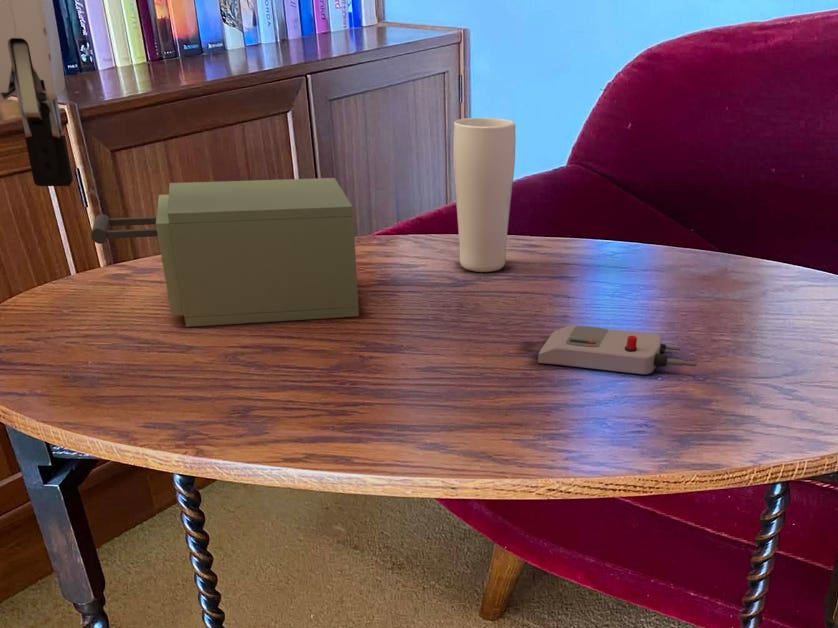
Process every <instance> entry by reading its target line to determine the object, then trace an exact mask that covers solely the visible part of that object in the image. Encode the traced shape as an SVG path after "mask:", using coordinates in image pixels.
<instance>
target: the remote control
mask: <svg viewBox="0 0 838 628" xmlns="http://www.w3.org/2000/svg"><path fill="white" fill-rule="evenodd" d="M674 351H681V347H678V346H669V345H667V344H665V343H662V336H661V335H660V334H659V333H653V332H643V331H642V332H641V331H635V330H634V331H633V330H625V329H616V328H606V327H605V328H604V327H598V326H586V325H576V324H570V325H566V326H564V327H561V328H559V329H556V330H554V331H553V332H552V333H551V334H550V336H549V337H548V338H547V340H546V341H545V343H544V344H543V346H542V347H541V349H540V350H539V352H538V359H537V362H538V364H546V365H547V364H548V365H558V366H567V367H574V368H585V369H593V370H601V371H609V372H619V373H628V374H637V375H649V374H651V373H653V372H654V370H655V369H656V367H661V368H663V367H666V366H667V365H669V366H670V365H671V366H680V367H681V366H689V367H697V364H698V363H697V362H695V361H687V360H683V359H678V358H669V357H668V355H665V354H671V355H672V354H673V352H674Z"/></svg>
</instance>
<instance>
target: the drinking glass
mask: <svg viewBox="0 0 838 628" xmlns="http://www.w3.org/2000/svg"><path fill="white" fill-rule="evenodd" d="M452 137H453V138H452V142H453V143H452V163H453V165H452V166H453V178H454V179H453V180H454V191H455V192H454V194H455V204H456V217H457V218H456V219H457V230H458V231H457V232H458V244H459V248H458V249H459V255H458V256H459V264H460V266H461V267H462V268H463V269H465V270H467V271H471V272H478V273H488V272H489V273H490V272H496V271H500V270H501V269H503V268H504V266H505V265H506V262H507V261H506V259H507V241H508V230H509V221H510V212H511V204H512V203H511V202H512V194H513V185H514V175H515V167H516V166H515V164H516V163H515V162H516V122H514V120H510V119H505V118H499V117H498V118H497V117H465V118H460V119H456V120H455V121H454V122H453V136H452Z"/></svg>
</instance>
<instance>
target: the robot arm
mask: <svg viewBox="0 0 838 628" xmlns="http://www.w3.org/2000/svg"><path fill="white" fill-rule="evenodd" d="M57 24H58V23H57V19H56V13H55V7H54V2H53V0H0V100H2V101H6V100H8V99H10V98H11V97H12V96H14V95H15V94H16V98H17V103H18V108H19V112H20V116H21V122H22V124H23V130H24V134H25V136H24V140H25V145H26V149H27V155H28V160H29V164H30V169H31V175H32V179H33V183H34V184H35V186H38V187H69V186H71V185H72V183H73V181H74V179H73V172H72V166H71V162H70V161H71V160H70V156H69V151H68V145H67V140H66V139H67V138H66V135H65V134H64V133H63V126H62V119H61V113H60V108H59V102H58V100H59V99H58V96H59V95H60V94H61V93H62V92H64V90H65V88H66V82H65V73H64V64H63V58H62V57H63V56H62V51H61V43H60V36H59V32H58V25H57Z"/></svg>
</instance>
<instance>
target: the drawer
mask: <svg viewBox="0 0 838 628" xmlns="http://www.w3.org/2000/svg"><path fill="white" fill-rule="evenodd" d="M168 200H169V194H158V200H157V211H156V216H139V217H137V216H136V217H115V218H114V217H113V218H110V217H109V216H108V215H107V214H104V213H100V214H97V216H96V217H95V220H94V223H93V225H92V228H91V232H90V238H91V239H92V241H93V242H94V243H95V244H99V245H102V244H104V243H105V242H106V241H107V239H129V238H150V237H151V238H154V237H157V238H158V244H159V250H160V257H161V262H162V267H163V273H164V280H165V285H166V292H167V297H168V303H169V309H170V313H171V316H172V317H178V316H184V311H183V304H182V298H181V292H180V286H179V280H178V274H177V268H176V262H175V256H174V250H173V244H172V238H171V232H170V226H169V219H168ZM148 225H150V226H151V225H155V227H156V228H140V229H138V228H135V229H133V228H132V229H113V230H110V228H111V227H123V226H124V227H125V226H126V227H127V226H148Z"/></svg>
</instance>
